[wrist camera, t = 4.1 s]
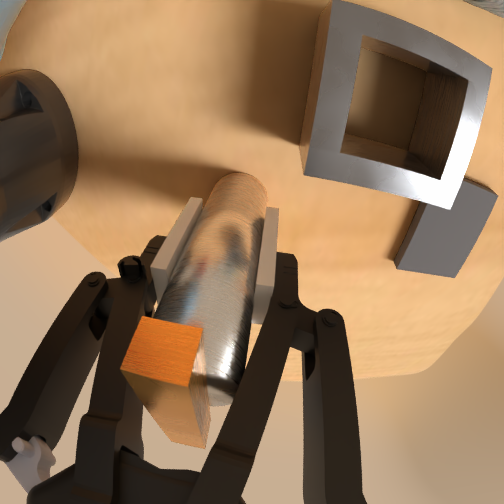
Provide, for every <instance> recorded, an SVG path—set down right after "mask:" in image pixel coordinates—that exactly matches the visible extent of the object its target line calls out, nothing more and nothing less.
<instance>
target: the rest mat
mask: <svg viewBox="0 0 504 504" xmlns="http://www.w3.org/2000/svg"><path fill="white" fill-rule="evenodd" d="M497 198H498V195H497V194H496V193H495V192H494V191H493V190H491V189H489V188H486V187H484V186H482V185H480V184H477V183H475V182H473V181H470V180H468V179H466V178H463V179H462V182H461V185H460V187H459V190H458V192H457V195H456V197H455V199H454V202H453V204H452V206H451V209H450V210H449V209H446V208H442V207H439V206H436V205H432V204H429V203H425V202H422V201H420V204H419V206H418V209H417V211H416V214H415V216H414V218H413V221H412V223H411V225H410V228H409V230H408V232H407V234H406V236H405V239H404V241H403V243H402V245H401V247H400V249H399V251H398V253H397V256H396V258H395V260H394V264H395V266H396V269H399V270H406V271H412V272H419V273H425V274H432V275H438V276H445V277H451V278H455V277H456V275H457V274H458V272H459V270H460V269H461V267H462V265H463V264H464V262H465V260H466V259H467V257H468V255H469V253H470V252H471V250H472V248H473V246H474V245H475V243H476V241H477V239H478V237H479V235H480V233H481V231H482V229H483V227H484V226H485V223H486V221H487V219H488V217H489V215H490V213H491V211H492V209H493V207H494V204H495V202H496V200H497Z"/></svg>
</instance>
